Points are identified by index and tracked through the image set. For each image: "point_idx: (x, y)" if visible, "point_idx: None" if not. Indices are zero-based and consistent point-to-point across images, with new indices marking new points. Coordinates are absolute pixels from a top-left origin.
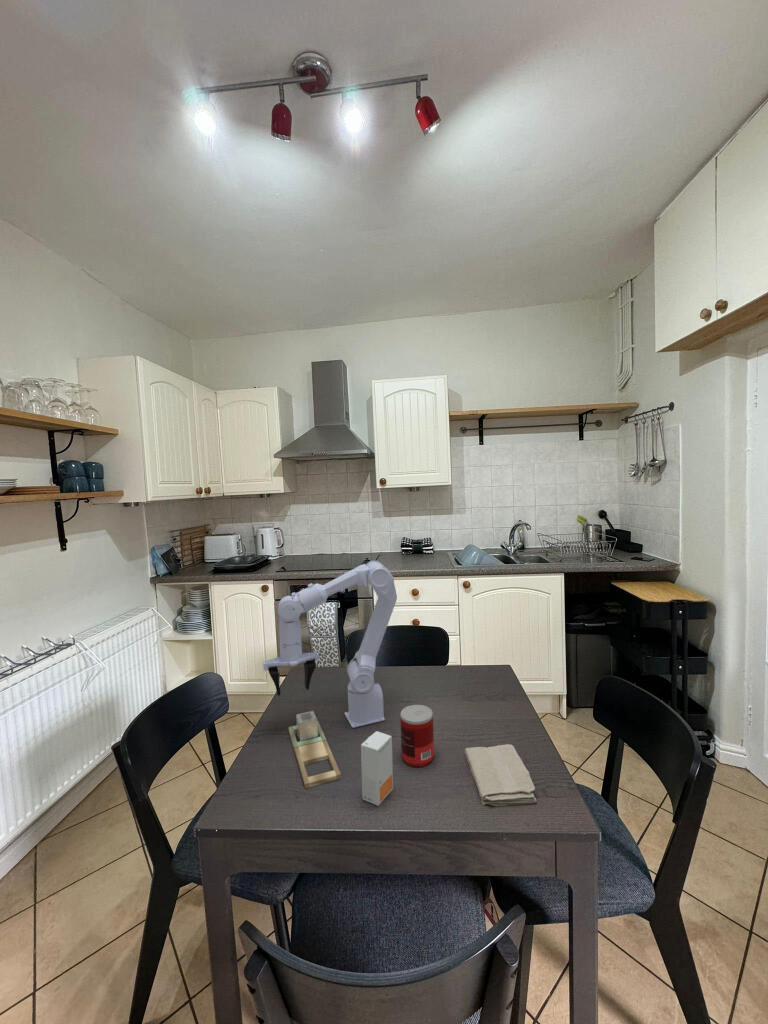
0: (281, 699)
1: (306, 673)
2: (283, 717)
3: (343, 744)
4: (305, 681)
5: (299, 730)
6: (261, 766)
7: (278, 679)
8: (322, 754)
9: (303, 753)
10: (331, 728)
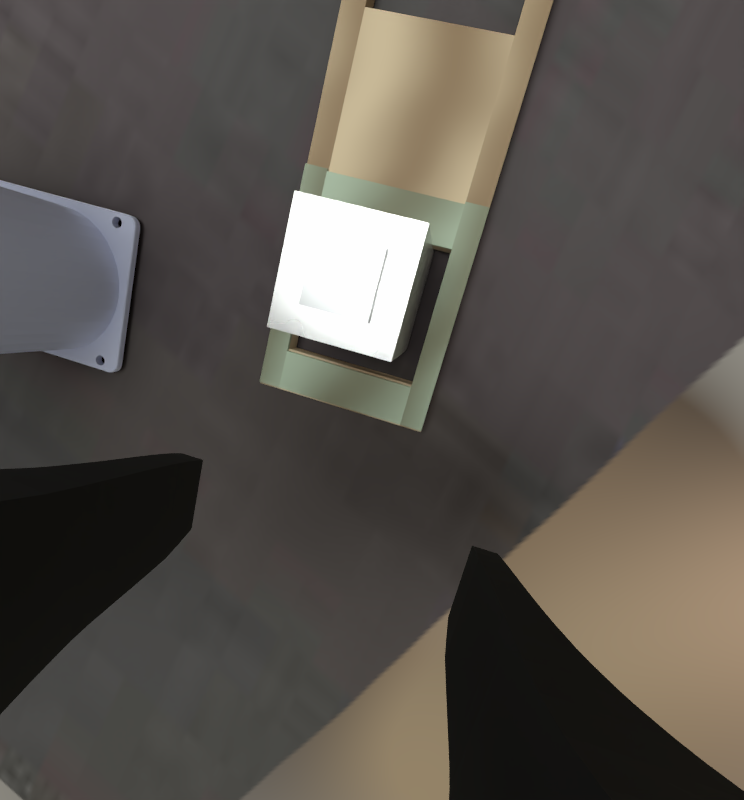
0: (321, 721)
1: (26, 552)
2: (385, 566)
3: (242, 110)
4: (147, 538)
5: (429, 242)
6: (706, 203)
7: (551, 688)
8: (388, 34)
9: (473, 117)
10: (229, 298)
